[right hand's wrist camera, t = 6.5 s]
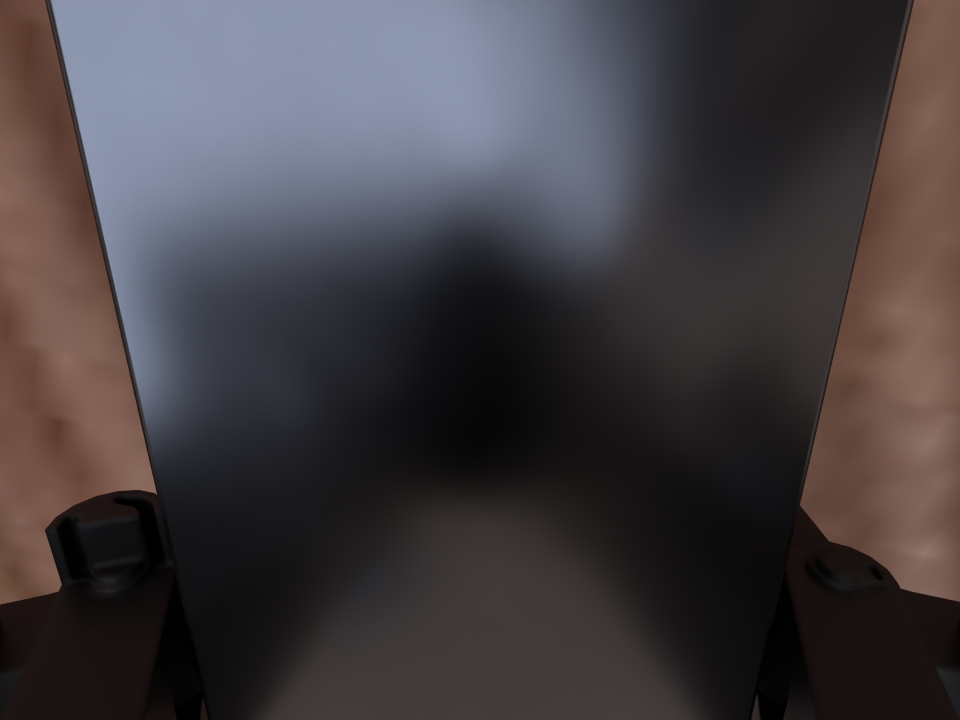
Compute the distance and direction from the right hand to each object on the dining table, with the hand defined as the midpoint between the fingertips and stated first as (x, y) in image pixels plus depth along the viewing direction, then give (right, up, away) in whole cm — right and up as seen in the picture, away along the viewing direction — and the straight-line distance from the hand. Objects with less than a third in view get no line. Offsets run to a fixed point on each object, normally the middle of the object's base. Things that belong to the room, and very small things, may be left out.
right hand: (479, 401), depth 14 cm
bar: (0, +8, -3) cm, 8 cm away
